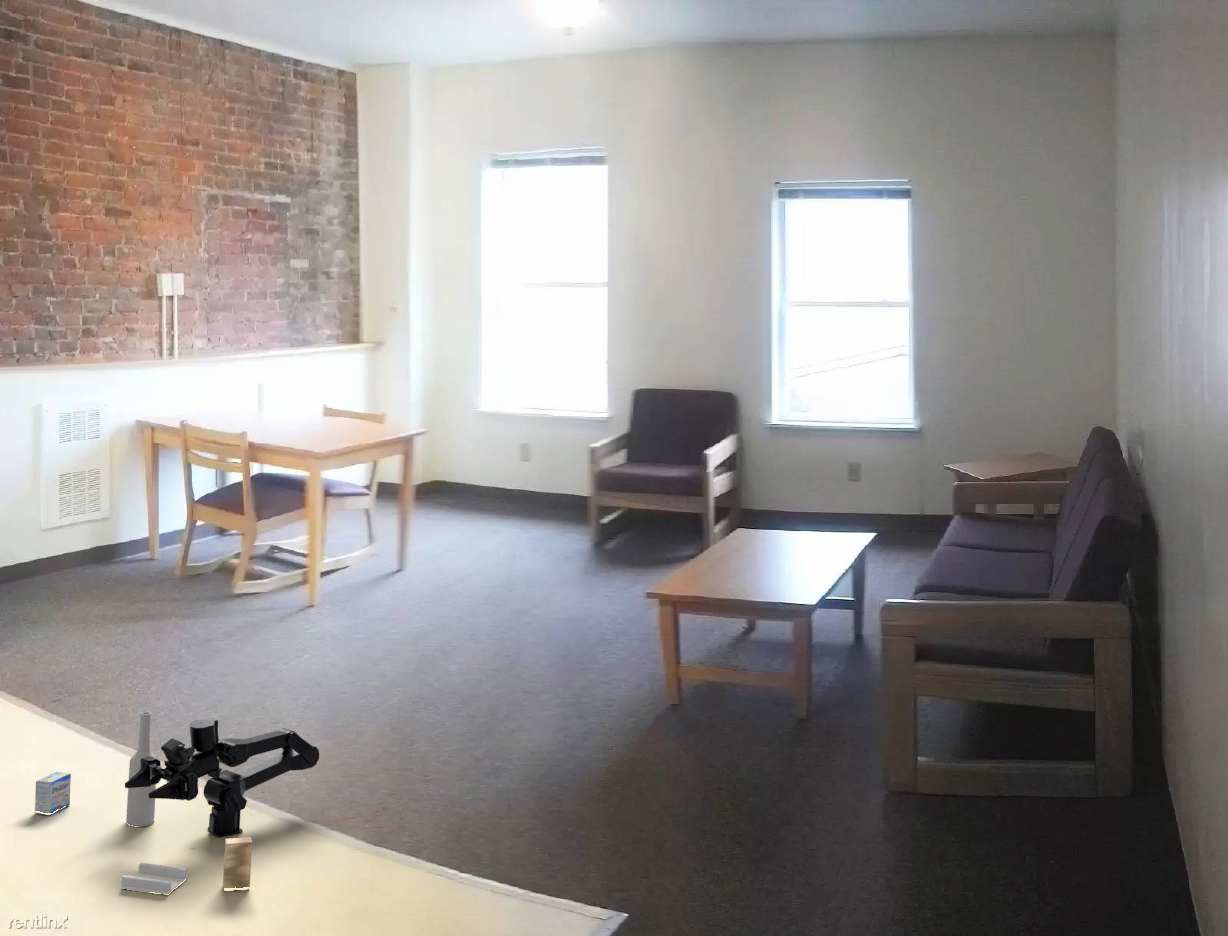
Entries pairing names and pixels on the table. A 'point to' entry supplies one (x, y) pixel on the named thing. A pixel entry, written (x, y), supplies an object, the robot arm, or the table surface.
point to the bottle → (138, 799)
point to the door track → (154, 878)
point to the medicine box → (52, 792)
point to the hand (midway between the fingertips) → (136, 791)
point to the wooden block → (237, 862)
